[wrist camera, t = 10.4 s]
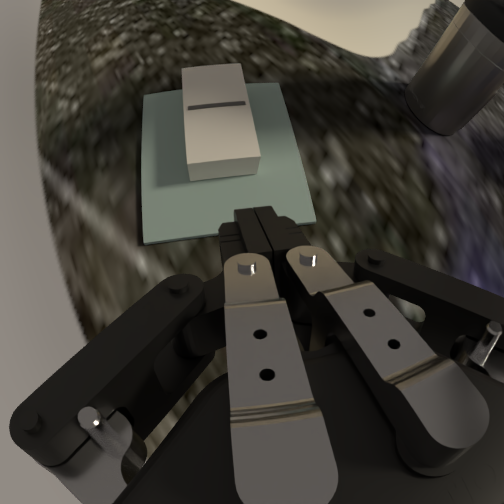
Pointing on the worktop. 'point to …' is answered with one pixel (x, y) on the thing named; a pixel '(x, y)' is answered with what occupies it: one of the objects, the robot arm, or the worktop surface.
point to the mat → (217, 189)
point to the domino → (218, 123)
